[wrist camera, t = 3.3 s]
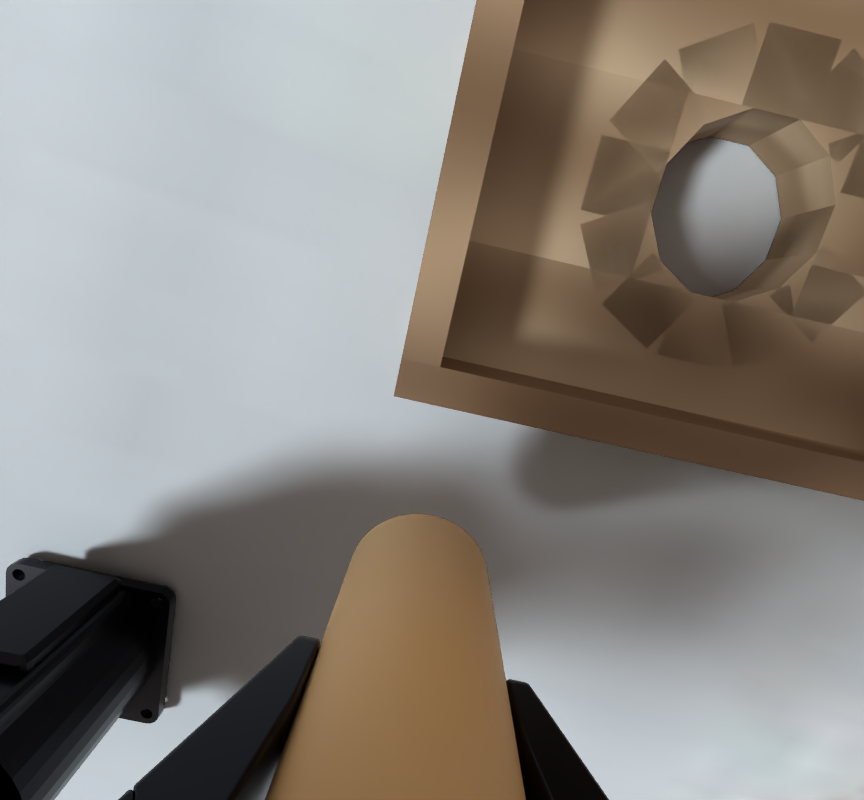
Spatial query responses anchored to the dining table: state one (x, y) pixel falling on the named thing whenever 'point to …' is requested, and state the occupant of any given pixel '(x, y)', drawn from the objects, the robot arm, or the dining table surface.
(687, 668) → the dining table surface
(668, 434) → the crate
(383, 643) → the peg
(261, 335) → the dining table surface
